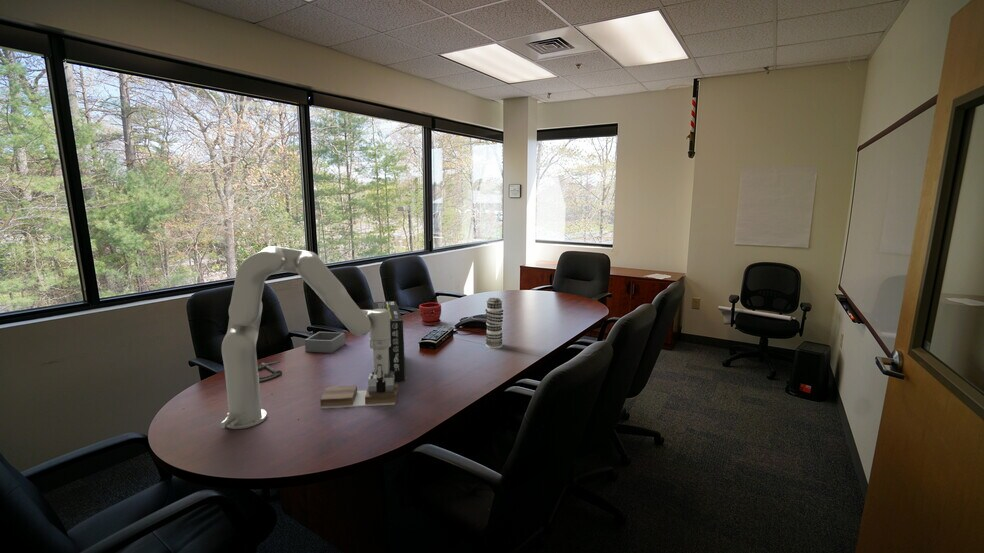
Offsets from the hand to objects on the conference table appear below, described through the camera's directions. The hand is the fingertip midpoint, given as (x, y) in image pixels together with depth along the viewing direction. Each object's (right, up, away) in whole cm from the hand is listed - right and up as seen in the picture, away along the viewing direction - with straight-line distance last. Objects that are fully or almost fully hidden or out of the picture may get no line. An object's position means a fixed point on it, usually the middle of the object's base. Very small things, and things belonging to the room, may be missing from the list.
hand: (381, 387), depth 167 cm
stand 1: (-15, -4, -2) cm, 16 cm away
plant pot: (+4, +13, +103) cm, 104 cm away
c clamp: (-56, 0, +24) cm, 61 cm away
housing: (0, -1, 0) cm, 1 cm away
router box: (-4, +1, +31) cm, 31 cm away
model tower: (+43, +6, +62) cm, 76 cm away
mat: (-8, -4, 0) cm, 9 cm away
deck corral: (-43, +6, +57) cm, 72 cm away
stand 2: (0, -4, +1) cm, 4 cm away
